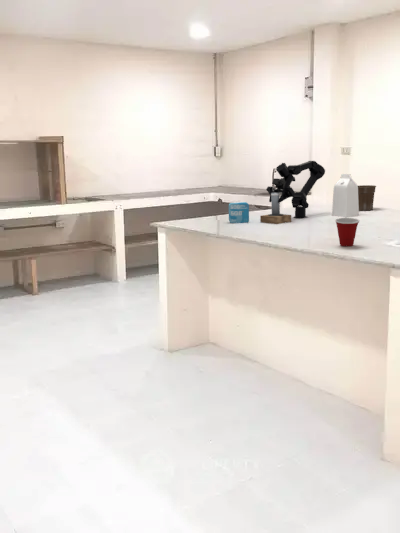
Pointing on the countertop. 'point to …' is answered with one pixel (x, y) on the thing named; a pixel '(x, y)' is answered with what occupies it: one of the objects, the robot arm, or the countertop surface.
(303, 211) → the robot arm
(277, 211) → the grey bottle
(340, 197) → the milk
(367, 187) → the plant pot
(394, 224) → the countertop surface
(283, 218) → the stand
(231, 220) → the data package
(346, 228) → the plastic cup
